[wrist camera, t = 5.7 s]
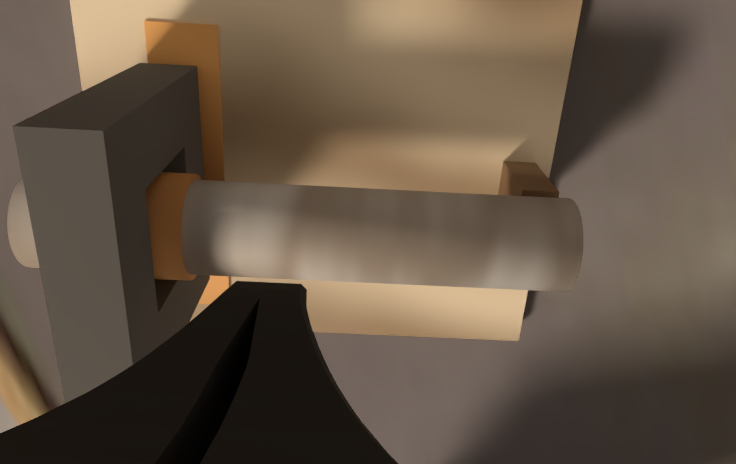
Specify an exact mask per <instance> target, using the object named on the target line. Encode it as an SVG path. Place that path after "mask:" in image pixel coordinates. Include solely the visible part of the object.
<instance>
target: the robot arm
mask: <svg viewBox="0 0 736 464" xmlns="http://www.w3.org/2000/svg"><path fill="white" fill-rule="evenodd" d="M0 464H398V463H397V462H396V461H395V460H394V459H393V458H392V457H391V456H390V455H389V454H388V453H387V452H386V450H385V449H384V448H383V447H382V446H381V444H380V443H379V442H378V441H377V440H376V438H375V437H374V436H373V435H372V434H371V433H370V431H369V430H368V429H367V428H366V427H365V425H364V424H363V423H362V422H361V420H360V419H359V418H358V416H357V415H356V413H355V412H354V410H353V409H352V408H351V406H350V405H349V403H348V402H347V400H346V399H345V397H344V395H343V394H342V392H341V391H340V389H339V387H338V386H337V384H336V382H335V380H334V378H333V376H332V375H331V373H330V371H329V369H328V367H327V364H326V362H325V360H324V358H323V356H322V354H321V351H320V349H319V347H318V344H317V341H316V338H315V336H314V333H313V330H312V327H311V324H310V320H309V316H308V312H307V289H306V288H305V287H304V286H303V285H302V284H293V283H271V282H250V281H236V282H235V283H234V284H232V285H231V286H230V287H229V288H228V289H227V290H225V291H224V292H223V293H222V294H221V295H220V296H219V297H217V298H216V299H215V300H214V301H213V302H212V303H211V304H210V305H209V306H207V307H206V308H205V309H204V310H203V311H202V312H201V313H200V314H198V315H197V316H196V317H195V318H194V319H193V320H191V321H190V322H189V323H188V324H187V325H185V326H184V327H183V328H182V329H181V330H179V331H178V332H177V333H176V334H174V335H173V336H172V337H170V338H169V339H168V340H166V341H165V342H164V343H162V344H161V345H160V346H158V347H157V348H156V349H154V350H153V351H152V352H150V353H149V354H148V355H146V356H145V357H144V358H142V359H141V360H139V361H138V362H136V363H135V364H133V365H132V366H130V367H129V368H127V369H126V370H124V371H123V372H121V373H119V374H118V375H116V376H114V377H113V378H111V379H109V380H108V381H106V382H104V383H103V384H101V385H99V386H98V387H96V388H94V389H92V390H90V391H89V392H87V393H85V394H83V395H81V396H79V397H77V398H75V399H73V400H71V401H69V402H67V403H65V404H63V405H61V406H59V407H57V408H55V409H53V410H51V411H49V412H47V413H45V414H43V415H41V416H39V417H37V418H35V419H33V420H30V421H28V422H26V423H23V424H21V425H19V426H16V427H14V428H12V429H10V430H7V431H5V432H3V433H0Z"/></svg>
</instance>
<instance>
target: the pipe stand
mask: <svg viewBox="0 0 736 464" xmlns="http://www.w3.org/2000/svg"><path fill="white" fill-rule="evenodd" d="M582 2H583V0H70V6H71V13H72V20H73V28H74V35H75V42H76V49H77V57H78V64H79V71H80V78H81V86H82V91H84V90H86V89H88V88H90V87H92V86H94V85H96V84H98V83H100V82H102V81H104V80H106V79H108V78H110V77H112V76H114V75H116V74H118V73H120V72H122V71H124V70H126V69H128V68H130V67H132V66H134V65H136V64H138V63H152V64H171V65H189V66H197V71H198V88H199V104H200V121H201V138H202V155H203V171H204V180H201V178H200V176H199V175H198V174H191V173H171V172H161V173H160V174H159V175H158V176H157V177H156V178H155V179H154V180H153V181H152V183H151V184H150V185H149V186H148V187H147V188H146V189H145V191H146V201H147V211H148V221H149V230H150V240H151V250H152V260H153V269H154V279H166V280H188V281H191V280H193V279H194V278H195V277H196V276H197V275H210V279H209V281H208V284H207V286H206V288H205V290H204V292H203V294H202V296H201V298H200V300H199V303H198V305H197V307H196V309H195V311H194V313H193V315H192V317H191V319H190V321H191V320H193V319H194V318H195V317H196V316H197V315H198V314H200V313H201V312H202V311H203V310H204V309H205V308H206V307H207V306H209V305H210V304H211V303H212V302H213V301H214V300H215V299H216V298H217V297H219V296H220V295H221V294H222V293H223V292H224V291H225V290H227V289H228V288H229V287H230V286H231V285H232V284H234V283H235V282H236V281H250V282H271V283H293V284H302V285H303V286H304V287H305V288H306V289H307V312H308V316H309V320H310V324H311V327H312V330H313V332H327V333H350V334H373V335H396V336H419V337H441V338H464V339H487V340H510V341H519V336H520V330H521V325H522V320H523V314H524V309H525V304H526V298H527V293H528V290H535V291H557V292H567V291H569V290H570V289H571V288H572V287H573V285H574V284H575V282H576V279H577V277H578V274H579V270H580V266H581V261H582V254H583V226H582V220H581V215H580V212H579V209H578V207H577V205H576V203H575V202H574V201H573V200H572V199H569V198H558V196H559V191H558V190H557V189H556V187H555V186H554V185H553V184H552V182H551V181H550V180H549V177H550V171H551V166H552V161H553V155H554V150H555V145H556V139H557V134H558V129H559V124H560V118H561V113H562V108H563V102H564V97H565V92H566V86H567V81H568V76H569V71H570V65H571V60H572V55H573V49H574V44H575V39H576V33H577V28H578V23H579V18H580V12H581V7H582ZM7 229H8V237H9V242H10V246H11V249H12V251H13V253H14V255H15V257H16V259H17V260H18V261H19V262H20V263H21V264H22V265H24V266H26V267H36V268H40V267H39V262H38V257H37V252H36V246H35V241H34V236H33V231H32V225H31V220H30V215H29V210H28V204H27V199H26V194H25V189H24V183H23V178H21V179H20V180H19V182H18V183H17V185H16V187H15V188H14V191H13V193H12V196H11V199H10V203H9V208H8V218H7Z"/></svg>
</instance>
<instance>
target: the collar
mask: <svg viewBox="0 0 736 464" xmlns="http://www.w3.org/2000/svg"><path fill="white" fill-rule="evenodd" d="M13 131H14V136H15V141H16V146H17V152H18V157H19V162H20V167H21V173H22V178H23V183H24V189H25V194H26V199H27V204H28V210H29V215H30V220H31V225H32V231H33V236H34V241H35V246H36V252H37V257H38V262H39V267H40V273H41V278H42V283H43V289H44V294H45V299H46V304H47V310H48V315H49V320H50V325H51V331H52V336H53V341H54V346H55V352H56V357H57V362H58V367H59V373H60V378H61V383H62V389H63V394H64V399H65V403H67V402H69V401H71V400H73V399H75V398H77V397H79V396H81V395H83V394H85V393H87V392H89V391H90V390H92V389H94V388H96V387H98V386H99V385H101V384H103V383H104V382H106V381H108V380H109V379H111V378H113V377H114V376H116V375H118V374H119V373H121V372H123V371H124V370H126V369H127V368H129V367H130V366H132V365H133V364H135V363H136V362H138V361H139V360H141V359H142V358H144V357H145V356H146V355H148V354H149V353H150V352H152V351H153V350H154V349H156V348H157V347H158V346H160V345H161V344H162V343H164V342H165V341H166V340H168V339H169V338H170V337H172V336H173V335H174V334H176V333H177V332H178V331H179V330H181V329H182V328H183V327H184V326H185V325H187V324H188V323H189V322H190V319H191V317H192V315H193V313H194V311H195V309H196V307H197V305H198V303H199V300H200V298H201V296H202V294H203V292H204V290H205V288H206V286H207V284H208V281H209V279H210V275H197V276H196V277H195V278H194V279H193V280H191V281H188V280H166V279H154V269H153V260H152V250H151V240H150V230H149V221H148V211H147V201H146V191H145V189H146V188H147V187H148V186H149V185H150V184H151V183H152V181H153V180H154V179H155V178H156V177H157V176H158V175H159V174H160V173H161V172H171V173H191V174H198V175H199V176H200V178H201V180H204V171H203V155H202V138H201V121H200V104H199V88H198V71H197V66H189V65H171V64H152V63H138V64H136V65H134V66H132V67H130V68H128V69H126V70H124V71H122V72H120V73H118V74H116V75H114V76H112V77H110V78H108V79H106V80H104V81H102V82H100V83H98V84H96V85H94V86H92V87H90V88H88V89H86V90H84V91H82V92H80V93H78V94H76V95H74V96H72V97H70V98H68V99H66V100H64V101H62V102H60V103H58V104H56V105H54V106H52V107H50V108H48V109H46V110H44V111H42V112H40V113H38V114H36V115H34V116H32V117H30V118H28V119H26V120H24V121H22V122H20V123H18V124H16V125H14V126H13Z"/></svg>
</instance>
